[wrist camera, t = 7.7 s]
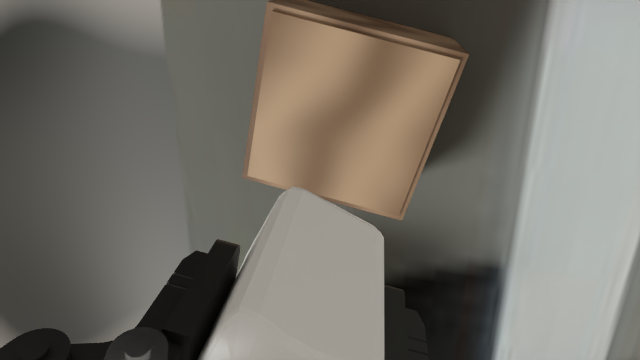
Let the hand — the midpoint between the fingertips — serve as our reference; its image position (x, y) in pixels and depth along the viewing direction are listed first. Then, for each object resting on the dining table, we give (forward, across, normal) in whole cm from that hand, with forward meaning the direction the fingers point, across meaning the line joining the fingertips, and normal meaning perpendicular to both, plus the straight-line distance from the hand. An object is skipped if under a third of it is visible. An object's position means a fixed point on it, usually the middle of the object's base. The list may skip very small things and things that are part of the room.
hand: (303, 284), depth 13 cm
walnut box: (+21, 0, 0) cm, 21 cm away
